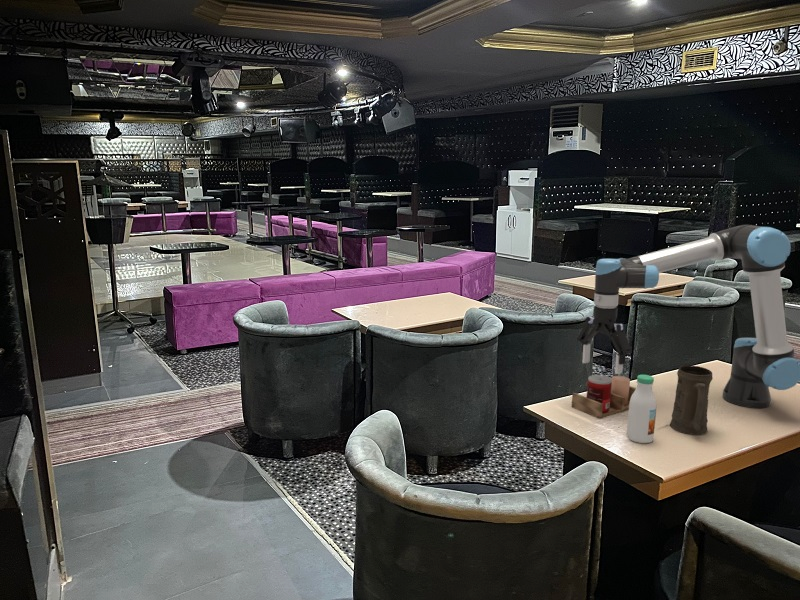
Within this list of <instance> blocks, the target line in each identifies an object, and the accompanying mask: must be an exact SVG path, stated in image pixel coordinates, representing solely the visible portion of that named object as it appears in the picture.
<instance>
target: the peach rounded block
mask: <svg viewBox="0 0 800 600" xmlns="http://www.w3.org/2000/svg"><path fill="white" fill-rule="evenodd" d="M611 379H612V386H611V393H614V394H616V395H619V396H622V397H624V398H625V402H624V406H627V405H628V397H629V387H630V384H631V379H630V378H629V377H627V376H624V375H623V376H622V375H614V376H613V375H612V376H611Z"/></svg>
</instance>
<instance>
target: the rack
mask: <svg viewBox="0 0 800 600" xmlns="http://www.w3.org/2000/svg"><path fill="white" fill-rule="evenodd" d="M636 388H637V387H633V386H630V387H629V397H628V405H627V406H624V402H625V398H624V397H622V396H619V395H616V394H614V393H611V397H610V408H609V411H608V412H606V413H602V407H603V404H602V403H599V402H597V401H594V400H592V399H589V398H587V396H584V395H581V394H579V393H577V392H572V397H571V408H573V409H575V410H578V411H579V412H582V413H585V414H587V415H589V416H592V417H594V418H596V419H599V420H600V419H604V418H607V417H612V416H614V415H615V416H616V415H618V414H621V413H624V412H629V404H630V399H631V396H632V394H633V393H634V391H635V390H636Z"/></svg>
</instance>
